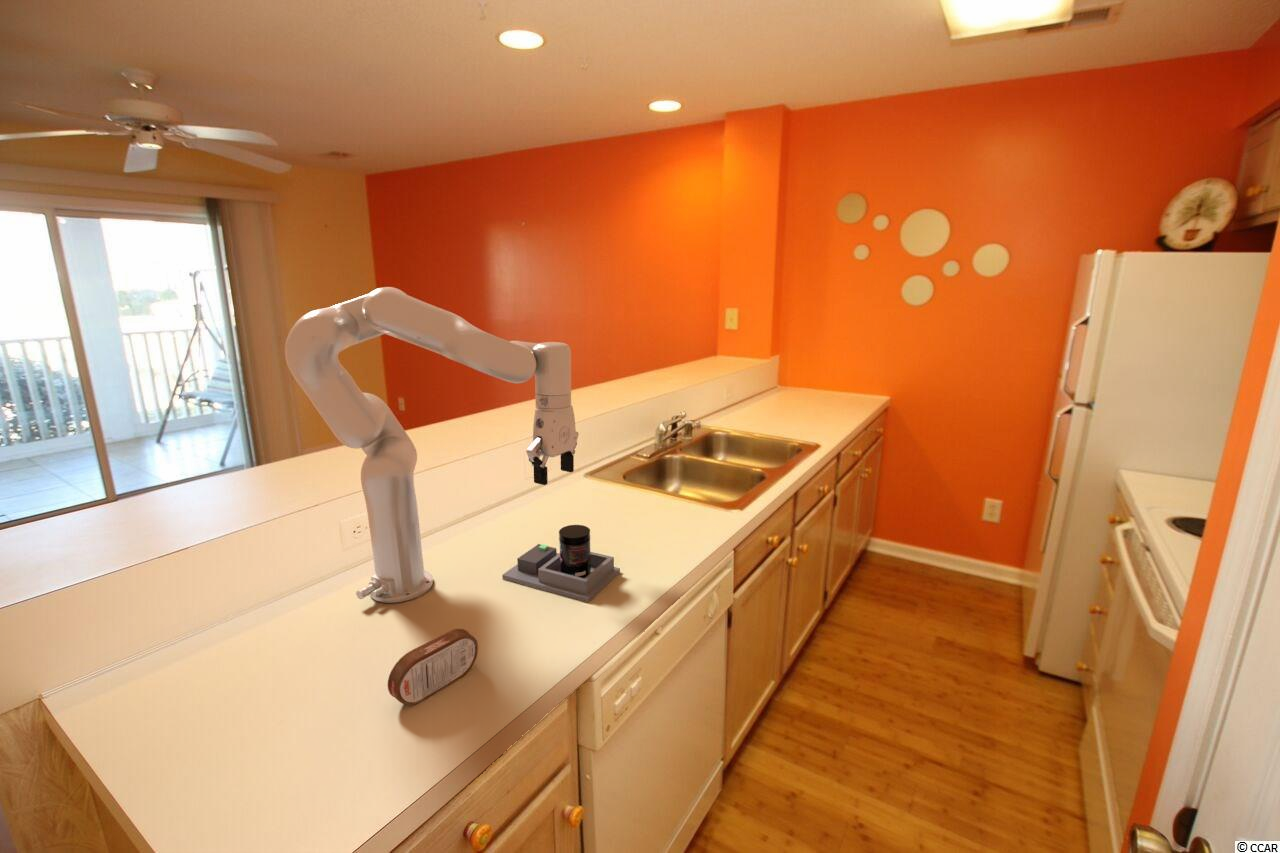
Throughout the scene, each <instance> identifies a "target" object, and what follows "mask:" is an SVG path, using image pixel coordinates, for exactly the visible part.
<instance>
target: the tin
mask: <svg viewBox="0 0 1280 853" xmlns="http://www.w3.org/2000/svg"><path fill="white" fill-rule="evenodd" d="M478 651H479V645H478V640H477V639H476V637H475V636H474V635H472V634H471V633H470V632H469V631H468V630H466V629H464V628H454V629H451V630H449V631H447V632H445V633H443V634H441V635H439V636H437V637H435V638H433V639H431V640H430V641H428V642H425V643H424V644H421V645H420V646H418V647H415V648H413V649H411V650H409V651H407V653H405V654H404V655H403V656H402V657H400V658H399V660H397V662H396V663H395V664H394V666H393V667H392V669H391V671H390V673H389V675H388V680H387V689H388V690H387V691H388V693H389V695H390V696H391V697H393V698H394V699H395V700H397V701H398V702H399V703H400V704H403V705H406V706H407V705H408V706H412V705H416V704H419V703H421V702H423V701H425V700H426V699H428V698H429V697H432V696H434V694H436V693H438V692H439V691H442V690H443V689H445V688H446V687H448V686H450V685H451V684H454V683H455V682H457V681H458V680H460V679H461V678H463V677H464V676H465V675H466V674H468V673H469V672H470V670H471V669H472V667H473V666H474V664H475V662H476V660H477V657H478Z"/></svg>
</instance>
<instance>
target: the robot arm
mask: <svg viewBox="0 0 1280 853" xmlns="http://www.w3.org/2000/svg"><path fill="white" fill-rule="evenodd" d="M382 335H387V336H390V337H393V338H395V339H398V340H399V341H400V340H401V341H403V342H406V343H410V344H412V345H415V346H418V347H420V348H423V349H425V350H428V351H431V352H434V353H436V354H438V355H441V356H443V357H445V358H446V359H449V360H452V361H454V362H457V363H459V364H462V365H464V366H466V367H469V368H471V369H473V370H475V371H478V372H481V373H483V374H486V375H487V376H488V375H489V376H491V377H494V378H497V379H499V380H502V381H505V382H508V383H512V384H523V383H525V382H528V381H529V380H530V379H532V377H533V376H534V385H535V386H534V388H535V389H534V392H535V394H534V395H535V397H534V398H535V409H534V417H533V425H532V443H530V445H529V446H528V448H527V449H526V454H527V457H528V461H529V462H530V463H531V466H532V467H533V483H534V484H539V485H541V486H546V485H548V482H549V481H548V479H549V478H548V466H546V465H547V463H548V460H549V457H550V458H555V457H557V456H560V470H561V471H562V472H568V473H573V472H574V471H575V469H574V467H575V466H574V464H575V463H574V461H575V459H574V456H575V454H576V447H577V446H578V437H579V431H577V430H576V420H575V419H576V418H575V413H574V408H573V407H574V406H573V405H572V353H571V352H572V350H571V348H570V346H569V344H567V343H565V342H558V341H547V342H546V341H545V342H540V343H539V342H528V341H521V340H510V341H509V340H506V339H504V338H501V337H498V336H496V335H494V334H491V333H489V332H487V331H484V330H482V329H480V328H479V327H476V326H475V325H473V324H471V323H470V322H468V321H467V320H466V319H465V318H463V317H461V316H460V315H457V314H456V313H453V312H451V311H449V310H445V309H443V308H440V307H437V306H435V305H433V304H430V303H427V302H426V301H422V300H421V299H418V298H415V297H413V296H410V295H408V294H407V293H405V291H404V290H403V291H402V290H401V289H399V288H396V287H394V286H384V287H383V286H382V287H378V288H376V289H374V290H372V291H370V292H369V293H367V294H364V295H361V296H358V297H356V298H352V299H350V300H347V301H344V302H342V303H341V302H340V303H338V304H335V305H331V306H329V307H324V308H318V309H315V310H311V311H309V312H306V314H304V315H302V316H301V317H300V318H299V319H297V321H296V322H295V323H294V324H293V326H292V328H291V329H290V331H289V332H288V336H287V337H286V339H285V340H286V341H285V345H284V356H285V362H286V364H287V368H288V369H289V372H290V374H291V375H292V376H293V378H294V380H295V382H296V383H297V384H298V386H299V387H300V388H301V390H302V391H303V392H304V393H305V395H306V396H307V398H308V399H309V400H310V402H311V403H312V406H313V407H314V408H315V410H316V411H317V412H318V414H319V416H321V418H322V419H323V421H324V423H326V426H328V428H329V429H330V430H331V432H332V434H333V436H334V437H335V438H336V439H337V440H338V442H340V443H341V444H342V445H344V446H346V447H347V448H351V449H356V450H357V449H361V450H362V451H363V452H364V454H365V456H366V457H365V458H364V460H363V462H362V465H361V470H360V482H361V489H362V492H363V496H364V501H365V505H366V511H367V512H366V514H367V521H368V526H369V534H370V541H371V549H372V558H373V564H374V574H373V575H371V576H370V580H371V581H370V582H369V583H368V584H367V585H366V586H363V587H361V588H360V589H359V590H356V591H355V595H356V596H357V599H359V600H363V599H365V598H366V597H368V596H370V598H371V599H373V600H375V601H376V602H380V603H386V604H387V603H388V604H389V603H391V604H393V603H394V604H395V603H401V602H406V601H410V600H413V599H416V598H418V597H420V596H422V595H424V594H425V593H427V591H429V590H430V589H431V587H432V586H433V582H434V581H433V580H434V579H433V576H432V574H431V572H429V571H427V570H425V568H424V567H425V566H424V557H423V546H422V541H421V540H422V538H421V537H422V536H421V529H420V528H421V527H420V520H419V518H420V516H419V511H418V503H417V502H418V501H417V495H416V490H415V480H414V477H415V476H414V474H415V470H416V465H417V459H418V453H417V449H416V446H415V444H414V443H413V441H412V439H411V438H410V436H409V435H408V433H407V432H406V430H405V429H404V427H403V426H402V424H401V423H400V421H399V420H398V419H397V417H396V416H395V414H394V413H393V411H392V410H391V408H390V407H389V406H388V405H387V403H386V402H385V401H384V400H383V399H381V397H379V396H377V395H375V394H373V393H369V392H363V391H362V390H361V389H360V388H359V386H358V385H357V383H356V381H355V380H354V378H353V377H352V376H351V374H350V373H349V371H348V370H347V369H346V368H345V367H344V366H343V364H342V363H341V362H340V360H339V354H340V353H341V352H342V351H344V350H346V349H348V348H350V347H352V346H354V345H357V344H360V343H363V342H366V341H368V340H372V339H375V338H378V337H380V336H382ZM541 457H542V458H541ZM540 458H541V459H540Z"/></svg>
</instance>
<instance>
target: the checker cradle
mask: <svg viewBox="0 0 1280 853" xmlns="http://www.w3.org/2000/svg"><path fill="white" fill-rule="evenodd" d="M590 554H591V573H590V574H589V575H588V576H587V577H586V578H581V577H577V576H573V575H569V574H565V573H561V570H560V552H559V553H558V552H557V548H556V547H553V546H549V545H547V544H543V543H542V544H540V543H537V544H536V545H535V546H533V547H532V548H531V549H528V551H526V552H525V553H523V554H522V555H520V556H519V557H518V558H516V560H517V563H516V565H514V566H513V567H511V568H510V569H508V570H507V571H505V572H504V573H502V576H501V577H502V580H505V581H509V582H512V583H517V584H520V585H524V586H525V587H526V586H527V587H531V588H533V589H534V588H535V589H537V590H542V591H544V592H549V593H552V594H556V595H559V596H563V597H567V598H570V599H574V600H577V601H581V602H585V603H590V602H591V601H592V600H593V599H594V598H595V597H596V596H597V595H598V594H599V593H601V591H602V590H603V589H604V588H605V587H606V586H608V584H609V583H611V581H612V580H614V579H615V578H616V577H617V576H618V575H619V574H620V573H621V568H619V567H618V566H617V567H616V566H615V557H614V556H610V555H606V554H602V553H598V552H593V551H590Z"/></svg>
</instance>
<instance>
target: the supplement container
mask: <svg viewBox="0 0 1280 853" xmlns="http://www.w3.org/2000/svg"><path fill="white" fill-rule="evenodd" d="M558 541H559V553H560V570H561V573H565V574H569V575H573V576H577V577H581V578H586V577H587V576H588V575H589V574H590V573H591V554H590V552H591V529H590V528H589V527H588V526H586V525H582V524H570V525H566V526H563V527H562V528H560V529H559V531H558Z"/></svg>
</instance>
